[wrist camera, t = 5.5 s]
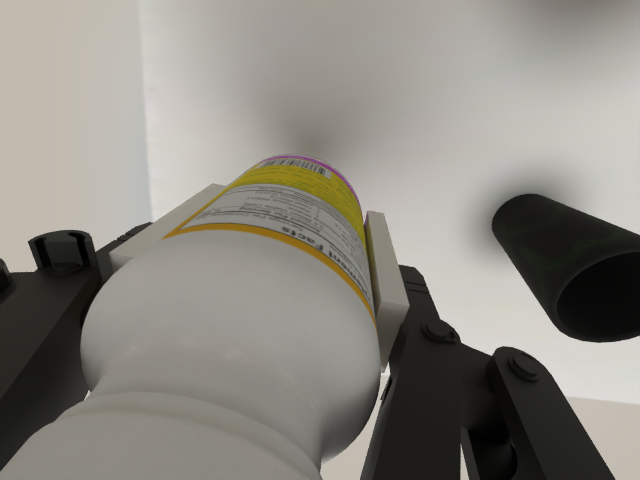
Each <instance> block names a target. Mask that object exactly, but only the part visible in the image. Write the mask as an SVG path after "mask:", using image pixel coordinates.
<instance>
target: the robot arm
mask: <svg viewBox="0 0 640 480" xmlns="http://www.w3.org/2000/svg"><path fill="white" fill-rule="evenodd" d="M225 187H227V186H223V185H217V184H211V185H209V186H208V187H206V188H205V189H204V190H202V191H201V192H199V193H198V194H196V195H195V196H193V197H192V198H190V199H189V200H187V201H186V202H184V203H183V204H181V205H180V206H178V207H177V208H175V209H174V210H172V211H171V212H169V213H168V214H166V215H165V216H163V217H162V218H160V219H159V220H157V221H156V222H154V223H151V222H148V223H145V224H143V225H139V226H136V227H135V228H133V229H131V230H130V231H128V232H127V233H125V235H122V236H120V237H119V238H117V240H114V241H112V242H111V243H109V244H108V245H106V246H104V247H103V248H101V249H100V250H98V251H96V252H95V249H94V245H93V241H92V237H91V236H90V235H89V233H86V232H83V231H78V230H61V231H55V232H50V233H46V234H43V235H40V236H37V237H35V238H33V239H31V240H30V241H28V243H29V246H30V249H31V251H32V254H33V257H34V259H35V262H36V264H37V267H38V269H37V270H36V271H35V272H17V273H16V272H15V273H14V272H13V273H9V271H8V269H7V266H6V264H5V262H4V261H3V260H2V259H0V471H1V470H2V469H3V468H4V467H5V466H6V464H7V463H8V462H9V461H10V460H11V459H12V457H13V456H14V455H15V454H16V453H17V452H18V450H19V449H20V448H21V447H22V446H23V445H24V443H25V442H26V441H27V440H28V439H29V438H30V437H31V436H32V435H33V434H34V433H36V432H37V431H39V430H40V429H41V428H43V427H44V426H46V425H48V424H50V423H53V422H55V421H56V419H57V418H58V417H59V416H60V415H61V414H62V413H63V412H64V411H66V410H68V409H69V408H71V407H73V406H74V405H76V404H78V403H80V402H82V401H84V399H85V397H86V395H87V392H88V390H89V388H88V385H87V382H86V379H85V376H84V373H83V370H82V364H81V353H80V345H81V335H82V329H83V325H84V322H85V319H86V316H87V314H88V311H89V309H90V306H91V304H92V302H93V301H94V299H95V297H96V295H97V294H98V292H99V291H100V290H101V288H102V287H103V285H104V284H105V283H106V282H107V281H108V280H109V279H110V277H111V276H112V275H113V274H114V273H115V272H117V271H118V270H119V269H120V268H121V267H123V266H124V265H125V264H126V263H128V262H129V261H130V260H131V259H133V258H134V257H135V256H137V255H138V254H139V253H141V252H142V251H143V250H145V249H146V248H147V247H149V246H150V245H151V244H153V243H154V242H155V241H157V240H158V239H159V238H161V237H162V236H163V235H164V234H166V233H167V232H168V231H170V230H171V229H172V228H174V227H175V226H176V225H178V224H179V223H180V222H182V221H183V220H184V219H185V218H187V217H188V216H189V215H191V214H192V213H193V212H194V211H196V210H197V209H198V208H200V207H201V206H202V205H203V204H205V203H206V202H207V201H209V200H210V199H211V198H212V197H214V196H215V195H216V194H218V193H219V192H220V191H221V190H223V189H224V188H225ZM364 233H365V241H366V250H367V258H368V264H369V273H370V281H371V289H372V297H373V305H374V312H375V318H376V326H377V335H378V343H379V352H380V362H381V373H384V372H385V369H386V366H387V364H388V361H389V367H390V376H389V379H388V381H387V384H386V386H385V389H384V391H383V394H382V397H381V400H382V402H381V406H380V409H379V413H378V416H377V420H376V424H375V427H374V431H373V434H372V438H371V441H370V445H369V448H368V452H367V456H366V459H365V463H364V467H363V470H362V474H361V477H360V480H460V462H461V461H460V460H461V459H460V457H461V449H460V448H461V446H462V450H463V454H464V459H465V463H466V467H467V471H468V476H469V480H615V478H614V476H613V475H612V473H611V471H610V470H609V468H608V466H607V465H606V463H605V462H604V460H603V458H602V457H601V455H600V453H599V452H598V450H597V449H596V447H595V445H594V444H593V442H592V440H591V439H590V437H589V435H588V434H587V432H586V431H585V429H584V427H583V426H582V424H581V422H580V421H579V419H578V417H577V416H576V414H575V413H574V411H573V410H572V408H571V406H570V404H569V403H568V401H567V400H566V398H565V396H564V395H563V393H562V391H561V390H560V388H559V386H558V385H557V383H556V382H555V380H554V378H553V377H552V375H551V374H550V373H549V371H548V370H547V369H546V368H545V366H544V365H542V364H541V363H540V362H539V361H538V360H536V359H535V358H534V357H532V356H531V355H529V354H527V353H525V352H524V351H521V350H518V349H516V348H513V347H505V346H503V347H500V348H497V349H496V350H495V352H494V354H493V355H492V356H490V355H488V354H485V353H483V352H481V351H478V350H476V349H473V348H471V347H469V346H467V345H465V344H463V343H461V340H460V337H459V335H458V333H457V332H456V331H455V329H454V328H453V327H451V326H450V325H449V324H448V323H446V322H444V321H443V320H441V319H440V317H439V315H438V312H437V310H436V307H435V305H434V302H433V300H432V297H431V295H430V294H429V293H430V292H429V290H428V287H426V282H425V280H424V277H423V276H422V275H421V274H420V273H419V271H418V270H417V269H416V268H415V267H409V266H404V265H398V263H397V259H396V256H395V252H394V248H393V245H392V241H391V238H390V234H389V231H388V227H387V224H386V220H385V217H384V213H380V212H374V211H367V215H366V219H365V223H364Z"/></svg>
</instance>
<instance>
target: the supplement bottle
mask: <svg viewBox="0 0 640 480" xmlns="http://www.w3.org/2000/svg"><path fill="white" fill-rule="evenodd" d="M80 353H81V364H82V370H83V373H84V376H85V379H86V382H87V385H88V388H89V390H90V392H91V393H90V395H89V396H88V397H87V398H86V400H85V401H82V402H80V403H78V404H76V405H74V406H73V407H71V408H69V409H68V410H66V411H64V412H63V413H62V414H61V415H60V416H59V417H58V418H57V419H56V421H55V422H53V423H50V424H48V425H46V426H44V427H43V428H41V429H40V430H39V431H37V432H36V433H34V434H33V435H32V436H31V437H30V438H29V439H28V440H27V441H26V442H25V443H24V445H23V446H22V447H21V448H20V449H19V450H18V452H17V453H16V454H15V455H14V456H13V457H12V459H11V460H10V461H9V462H8V463H7V464H6V466H5V467H4V468H3V469H2V470H1V471H0V480H322V477H321V475H320V469H321V465H322V464H324V463H326V462H327V461H329V460H331V459H333V458H334V457H336V456H337V455H338V454H340V453H341V452H342V451H344V450H345V449H346V448H347V447H348V446H349V445H350V444H351V443H352V442H353V441H354V440H355V439H356V438H357V436H358V435H359V434H360V433H361V431H362V430H363V428H364V427H365V425H366V424H367V422H368V420H369V418H370V416H371V413H372V411H373V409H374V406H375V403H376V400H377V397H378V392H379V386H380V377H381V362H380V352H379V343H378V335H377V326H376V318H375V312H374V305H373V297H372V289H371V281H370V273H369V264H368V258H367V250H366V241H365V233H364V225H363V217H362V211H361V207H360V203H359V200H358V197H357V195H356V193H355V191H354V189H353V188H352V186H351V185H350V183H349V182H348V181H347V180H346V178H345V177H344V176H343V175H342V174H341V173H340V172H339V171H337V170H336V169H335V168H333V167H332V166H331V165H329V164H327V163H325V162H323V161H321V160H319V159H317V158H314V157H310V156H306V155H298V154H285V155H278V156H274V157H270V158H268V159H265V160H263V161H261V162H259V163H257V164H256V165H254V166H253V167H251V168H250V169H249V170H247V171H246V172H245V173H243V174H242V175H241V176H239V177H238V178H237V179H235V180H234V181H233V182H232V183H230V184H229V185H228V186H227V187H225V188H224V189H223V190H221V191H220V192H219V193H218V194H216V195H215V196H214V197H212V198H211V199H210V200H209V201H207V202H206V203H205V204H203V205H202V206H201V207H200V208H198V209H197V210H196V211H194V212H193V213H192V214H191V215H189V216H188V217H187V218H185V219H184V220H183V221H182V222H180V223H179V224H178V225H176V226H175V227H174V228H172V229H171V230H170V231H168V232H167V233H166V234H164V235H163V236H162V237H161V238H159V239H158V240H157V241H155V242H154V243H153V244H151V245H150V246H149V247H147V248H146V249H145V250H143V251H142V252H141V253H139V254H138V255H137V256H135V257H134V258H133V259H131V260H130V261H129V262H128V263H126V264H125V265H124V266H123V267H121V268H120V269H119V270H118V271H117V272H115V273H114V274H113V275H112V276H111V277H110V279H109V280H108V281H107V282H106V283H105V284H104V285H103V287H102V288H101V290H100V291H99V292H98V294H97V295H96V297H95V299H94V301H93V302H92V304H91V306H90V309H89V311H88V314H87V316H86V319H85V322H84V325H83V329H82V335H81V345H80Z"/></svg>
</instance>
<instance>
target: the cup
mask: <svg viewBox="0 0 640 480" xmlns="http://www.w3.org/2000/svg"><path fill="white" fill-rule="evenodd" d="M492 231H493V233H494V235H495V237H496V238H497V240H498V241H499V243H500V244H501V246H502V247H503V249H504V250H505V252H506V253H507V255H508V256H509V258H510V259H511V261H512V262H513V264H514V265H515V267H516V268H517V270H518V271H519V273H520V274H521V276H522V277H523V279H524V281H525V282H526V284H527V285H528V287H529V288H530V290H531V291H532V293H533V294H534V296H535V297H536V299H537V300H538V302H539V303H540V305H541V306H542V308H543V309H544V311H545V312H546V314H547V315H548V317H549V318H550V320H551V321H552V323H553V324H554V325H555V326H556V327H557V328H558V330H559V331H560V332H562V333H564V334H565V335H567V336H569V337H571V338H574V339H578V340H581V341H588V342H597V343H602V342H616V341H621V340H626V339H631V338H634V337H637V336H640V235H638V234H636V233H633V232H631V231H628V230H626V229H623V228H621V227H618V226H616V225H613V224H611V223H608V222H606V221H603V220H601V219H598V218H596V217H593V216H591V215H589V214H586V213H584V212H581V211H579V210H576V209H574V208H571V207H569V206H566V205H564V204H561V203H559V202H556V201H554V200H551V199H549V198H546V197H544V196H541V195H538V194H525V195H520V196H517V197H514V198H512V199H511V200H509V201H507V202H506V203H505V204H503V205H502V206H501V207H500V208H499V210H498V211H497V212H496V214H495V216H494V218H493V222H492Z"/></svg>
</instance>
